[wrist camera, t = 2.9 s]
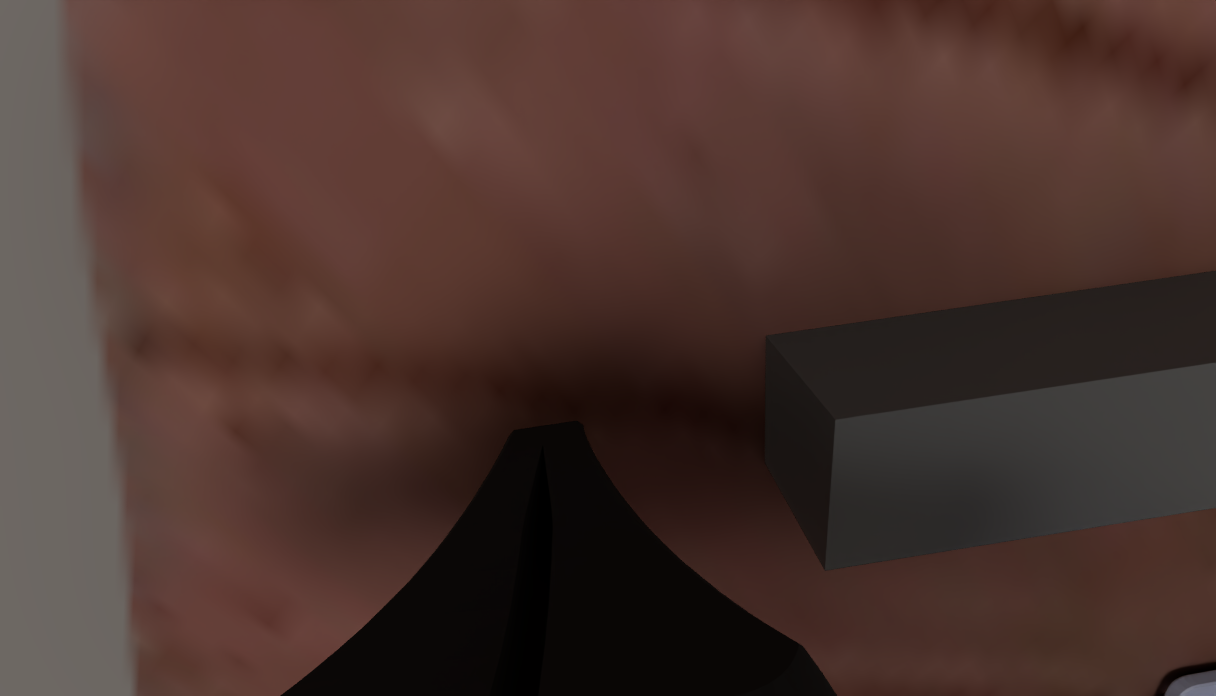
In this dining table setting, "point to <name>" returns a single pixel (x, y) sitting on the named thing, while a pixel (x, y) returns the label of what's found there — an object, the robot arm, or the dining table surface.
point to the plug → (996, 420)
